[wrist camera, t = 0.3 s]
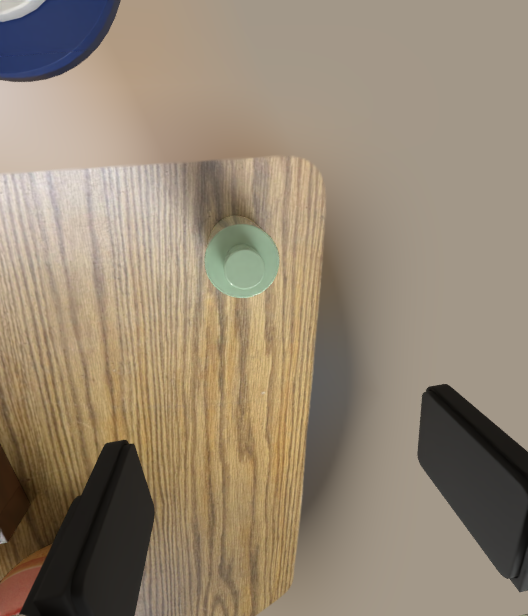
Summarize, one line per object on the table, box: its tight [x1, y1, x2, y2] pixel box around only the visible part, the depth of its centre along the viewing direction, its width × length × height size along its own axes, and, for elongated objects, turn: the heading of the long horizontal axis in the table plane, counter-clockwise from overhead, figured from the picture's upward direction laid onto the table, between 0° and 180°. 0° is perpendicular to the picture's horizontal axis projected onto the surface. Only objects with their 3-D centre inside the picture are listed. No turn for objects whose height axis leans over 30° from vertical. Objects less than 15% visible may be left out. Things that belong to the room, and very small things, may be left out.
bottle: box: [205, 215, 279, 298], centre depth 23 cm, size 5×5×10 cm
